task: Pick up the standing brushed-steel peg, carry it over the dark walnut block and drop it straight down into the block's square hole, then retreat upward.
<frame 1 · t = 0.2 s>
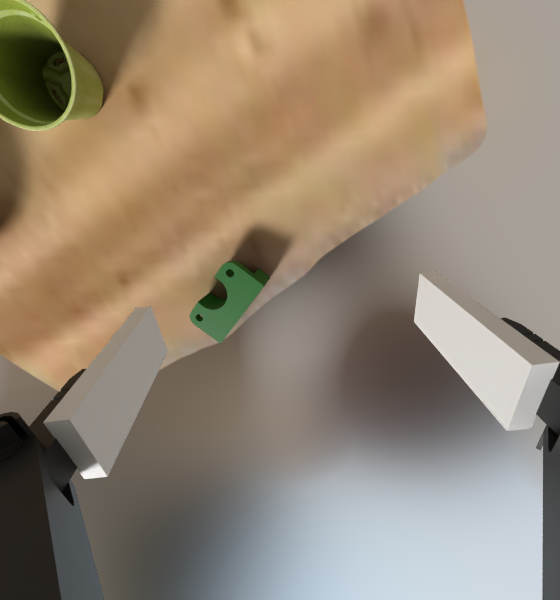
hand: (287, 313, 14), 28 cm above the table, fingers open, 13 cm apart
plant pot: (76, 86, 32), on the table
clamp: (231, 288, 45), on the table
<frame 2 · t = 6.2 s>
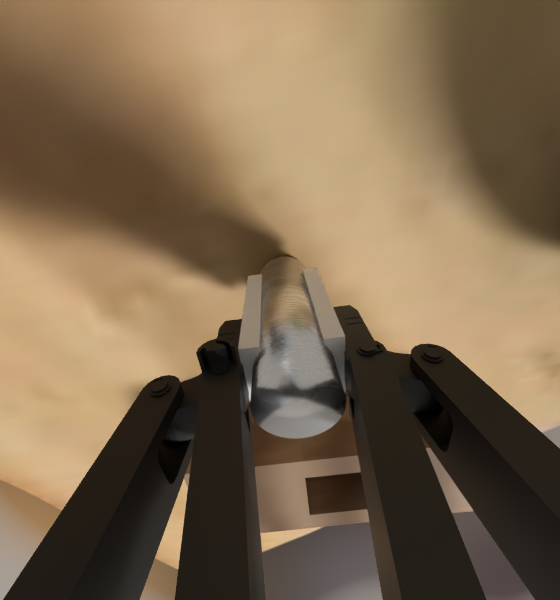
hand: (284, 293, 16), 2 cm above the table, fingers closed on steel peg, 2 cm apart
steel peg: (283, 279, 18), on the table, touching gripper
hole block: (326, 432, 25), on the table
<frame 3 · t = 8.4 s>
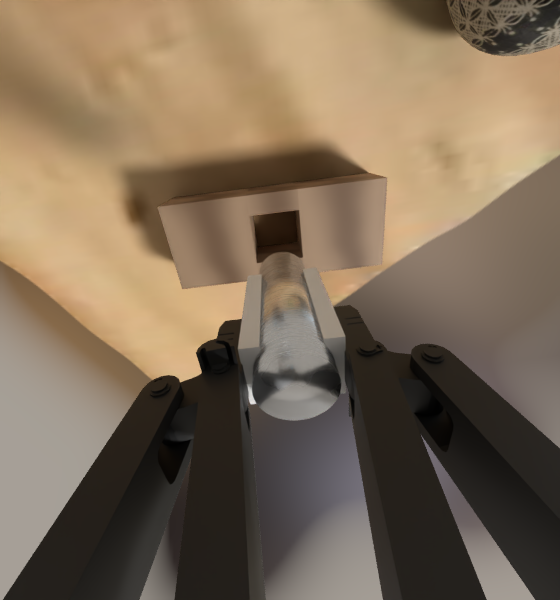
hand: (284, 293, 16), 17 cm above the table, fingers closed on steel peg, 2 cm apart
steel peg: (282, 274, 19), point 14 cm above the table, touching gripper
hole block: (275, 224, 31), on the table
when the fingers open (7 cm above the table, at t = 10.9 s): steel peg drops 4 cm, resting in hole block.
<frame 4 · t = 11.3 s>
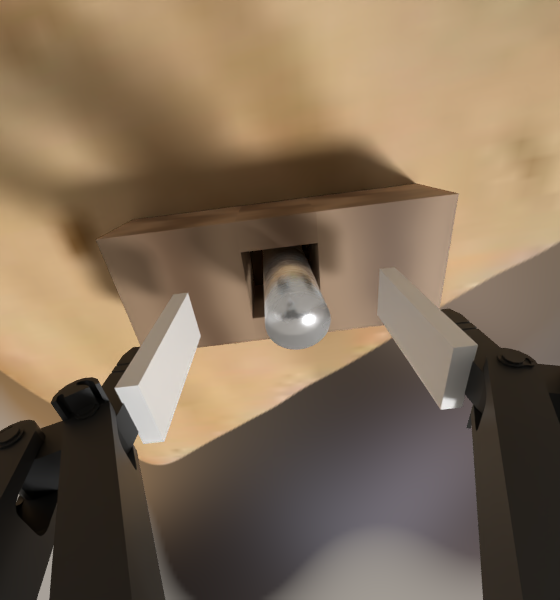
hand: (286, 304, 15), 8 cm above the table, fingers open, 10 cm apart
steel peg: (282, 253, 22), resting in hole block
hole block: (279, 255, 22), on the table
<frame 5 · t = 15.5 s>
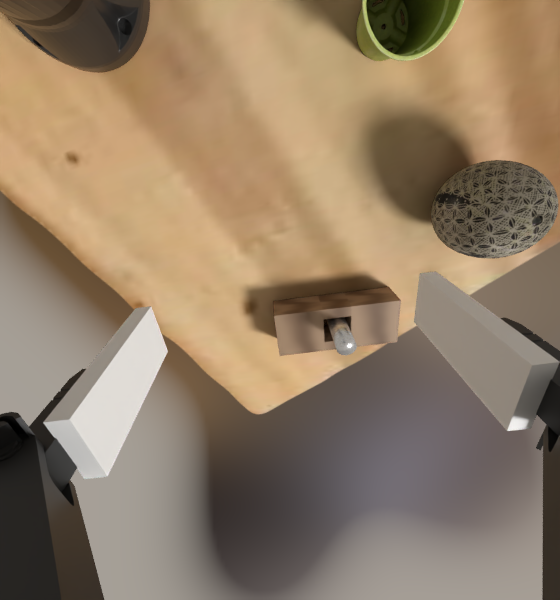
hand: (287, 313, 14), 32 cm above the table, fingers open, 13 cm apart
steel peg: (332, 312, 52), resting in hole block
plant pot: (380, 29, 34), on the table
decorative egg: (453, 201, 44), on the table
hole block: (331, 313, 52), on the table
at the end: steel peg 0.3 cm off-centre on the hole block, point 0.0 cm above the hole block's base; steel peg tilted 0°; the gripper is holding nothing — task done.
